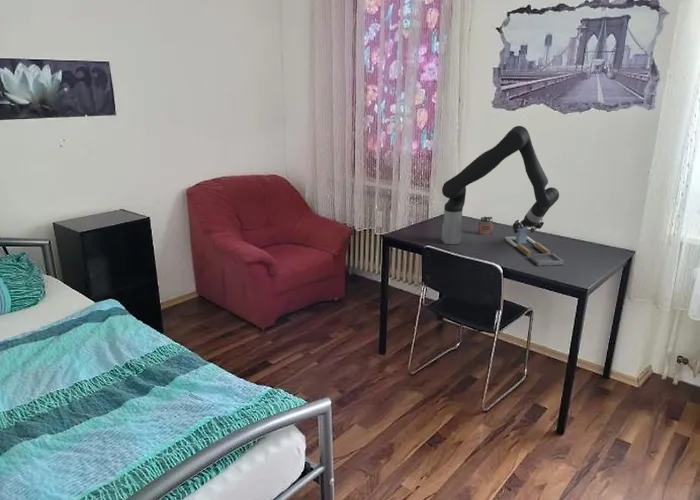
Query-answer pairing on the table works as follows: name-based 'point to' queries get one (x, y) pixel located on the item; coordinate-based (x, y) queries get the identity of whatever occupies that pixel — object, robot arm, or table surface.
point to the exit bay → (515, 239)
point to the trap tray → (546, 259)
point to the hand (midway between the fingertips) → (523, 231)
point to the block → (521, 235)
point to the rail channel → (537, 245)
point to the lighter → (485, 226)
